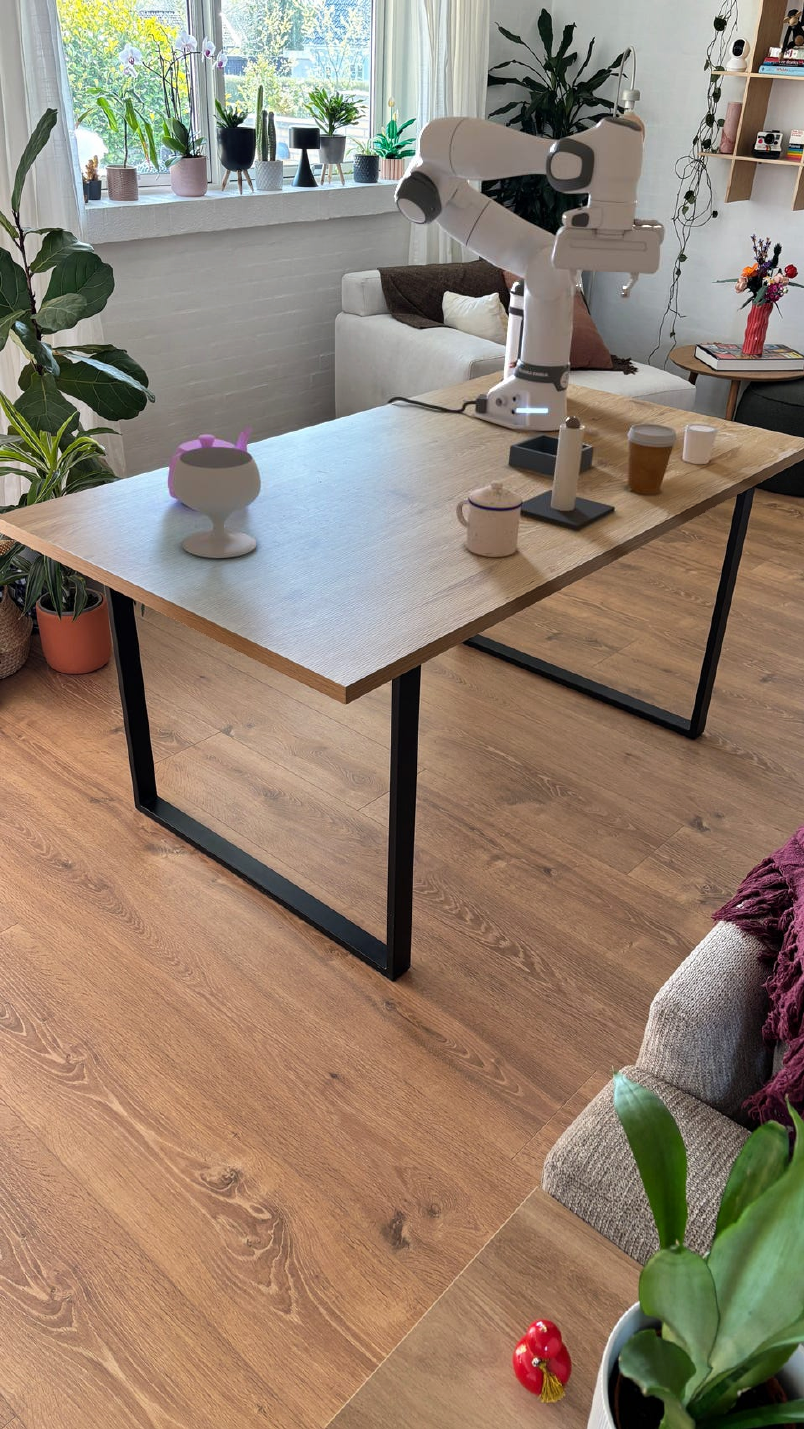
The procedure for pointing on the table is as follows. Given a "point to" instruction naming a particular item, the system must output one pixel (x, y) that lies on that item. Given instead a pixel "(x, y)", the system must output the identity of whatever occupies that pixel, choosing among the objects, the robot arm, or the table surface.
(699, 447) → the white cup
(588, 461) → the basket
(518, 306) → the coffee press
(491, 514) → the teacup with lid
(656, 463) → the disposable coffee cup
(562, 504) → the pepper mill
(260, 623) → the table surface
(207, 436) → the teapot
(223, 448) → the chalice
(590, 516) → the mat
